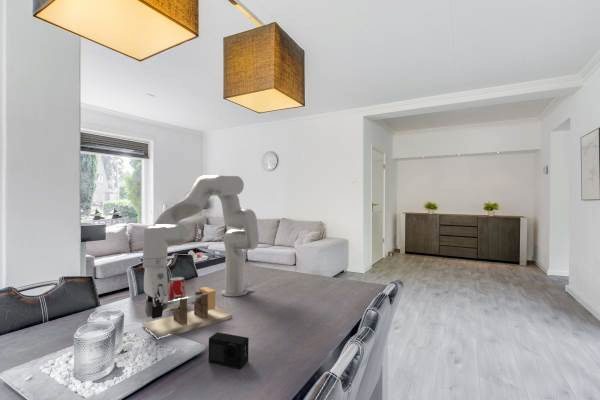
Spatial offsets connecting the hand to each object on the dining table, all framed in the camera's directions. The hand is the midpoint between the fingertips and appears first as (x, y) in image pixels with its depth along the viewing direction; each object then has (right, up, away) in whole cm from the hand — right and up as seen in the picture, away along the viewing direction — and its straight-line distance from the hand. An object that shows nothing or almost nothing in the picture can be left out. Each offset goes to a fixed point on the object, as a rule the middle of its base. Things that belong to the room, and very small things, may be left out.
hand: (153, 314), depth 103 cm
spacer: (+14, +1, +14) cm, 20 cm away
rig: (+9, -6, +9) cm, 14 cm away
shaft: (+7, -1, +7) cm, 10 cm away
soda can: (-3, -6, +26) cm, 26 cm away
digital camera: (+30, -6, -19) cm, 36 cm away
